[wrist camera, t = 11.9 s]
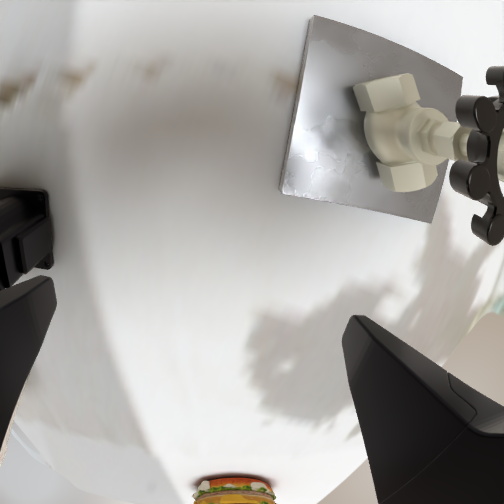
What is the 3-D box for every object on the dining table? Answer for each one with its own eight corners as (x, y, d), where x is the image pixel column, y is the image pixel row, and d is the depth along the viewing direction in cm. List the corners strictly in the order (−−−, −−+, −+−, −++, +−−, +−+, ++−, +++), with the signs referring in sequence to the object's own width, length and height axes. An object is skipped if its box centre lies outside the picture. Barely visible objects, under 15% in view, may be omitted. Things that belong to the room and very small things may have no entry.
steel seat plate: (278, 189, 20) (281, 193, 19) (309, 20, 15) (314, 15, 14) (423, 218, 22) (431, 223, 21) (453, 77, 17) (462, 76, 16)
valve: (407, 72, 16) (550, 64, 5) (430, 161, 19) (563, 218, 8) (321, 93, 17) (444, 74, 6) (353, 190, 19) (471, 279, 8)
